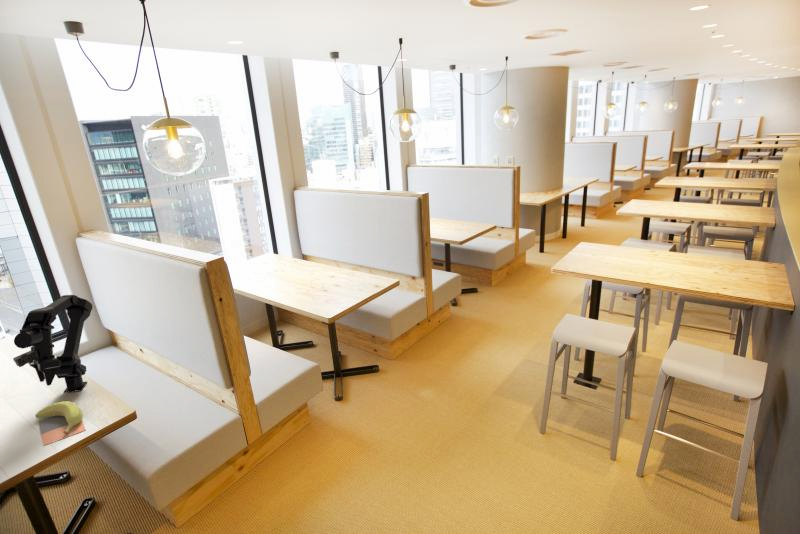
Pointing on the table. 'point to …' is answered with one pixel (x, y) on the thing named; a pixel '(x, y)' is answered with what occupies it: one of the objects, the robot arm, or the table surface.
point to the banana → (63, 413)
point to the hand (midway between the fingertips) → (45, 383)
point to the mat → (52, 423)
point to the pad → (61, 433)
